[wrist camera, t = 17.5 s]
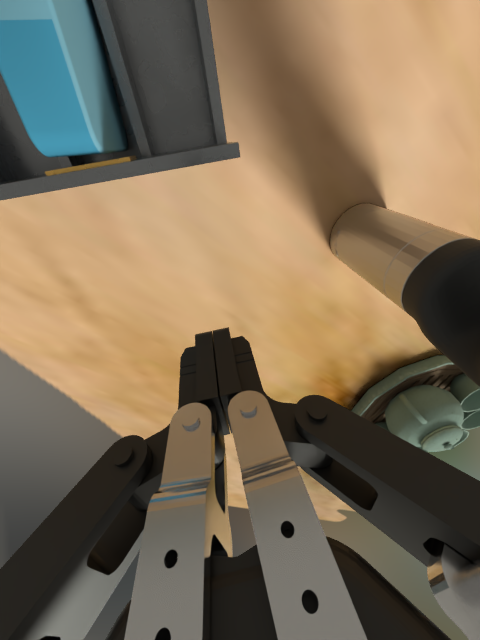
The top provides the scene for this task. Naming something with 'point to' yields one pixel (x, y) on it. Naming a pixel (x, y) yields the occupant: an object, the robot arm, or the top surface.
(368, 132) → the top surface
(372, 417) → the tea set
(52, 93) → the blue flat rounded slab
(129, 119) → the rack
